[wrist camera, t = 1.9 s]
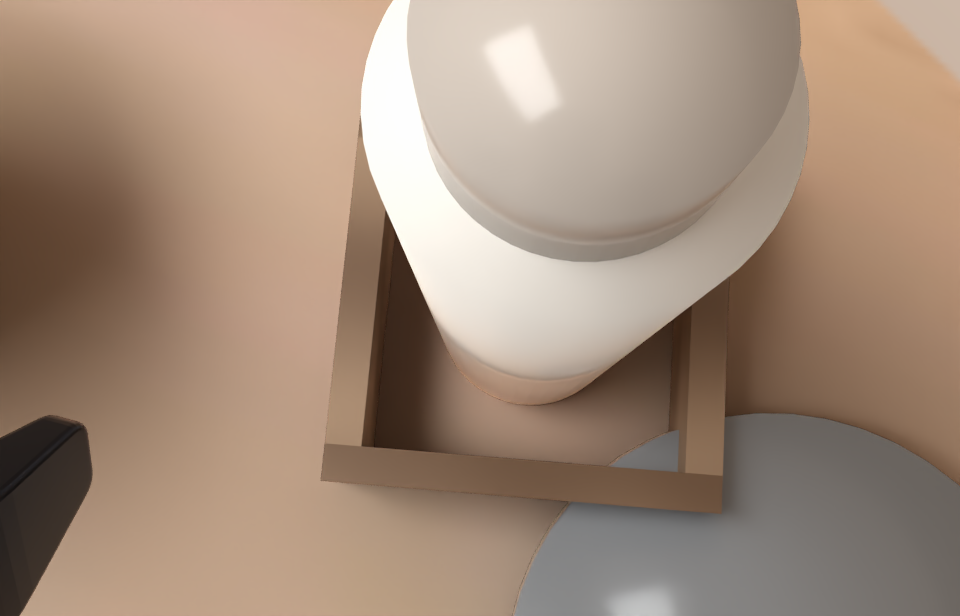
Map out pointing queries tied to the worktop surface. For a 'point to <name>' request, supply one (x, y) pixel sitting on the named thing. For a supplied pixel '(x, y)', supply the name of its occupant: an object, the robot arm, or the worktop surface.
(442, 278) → the salt mill
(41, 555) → the robot arm
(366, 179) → the holder
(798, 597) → the plate
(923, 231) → the worktop surface
